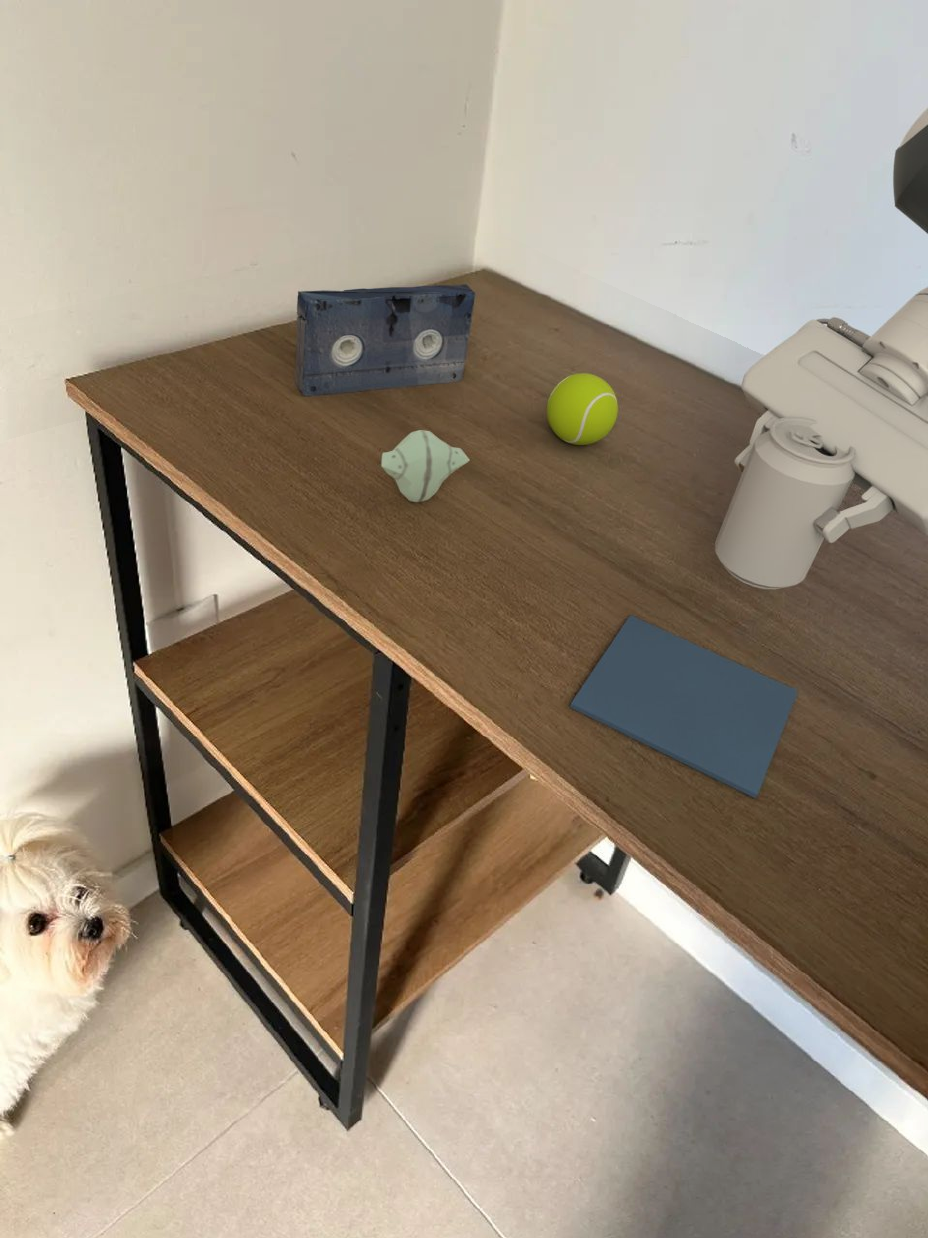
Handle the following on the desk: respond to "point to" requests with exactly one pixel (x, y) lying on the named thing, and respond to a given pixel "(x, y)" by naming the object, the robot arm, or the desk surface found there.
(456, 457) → the striped green spinning top
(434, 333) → the vhs cassette tape
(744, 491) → the can
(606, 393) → the tennis ball
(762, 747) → the mat
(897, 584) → the desk surface
